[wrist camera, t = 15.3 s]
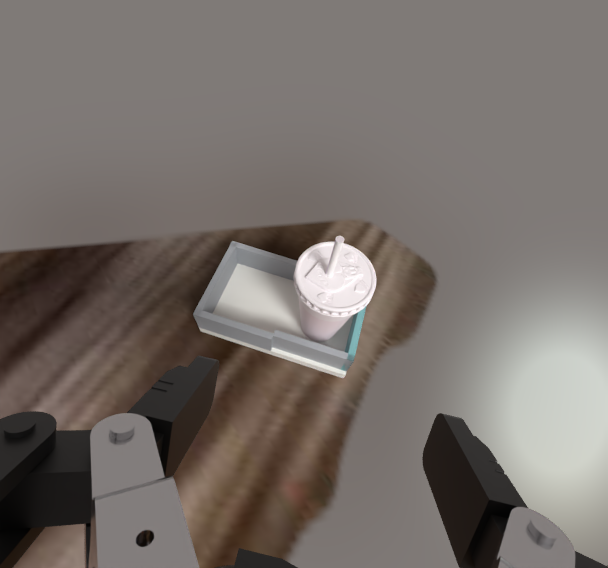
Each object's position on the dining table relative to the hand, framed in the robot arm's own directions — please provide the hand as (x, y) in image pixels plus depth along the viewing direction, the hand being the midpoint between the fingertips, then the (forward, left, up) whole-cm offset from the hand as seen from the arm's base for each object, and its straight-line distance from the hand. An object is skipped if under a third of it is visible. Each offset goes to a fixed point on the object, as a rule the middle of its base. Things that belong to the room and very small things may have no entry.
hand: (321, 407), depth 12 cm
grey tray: (-4, +12, -19) cm, 23 cm away
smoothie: (-1, +12, -18) cm, 22 cm away
